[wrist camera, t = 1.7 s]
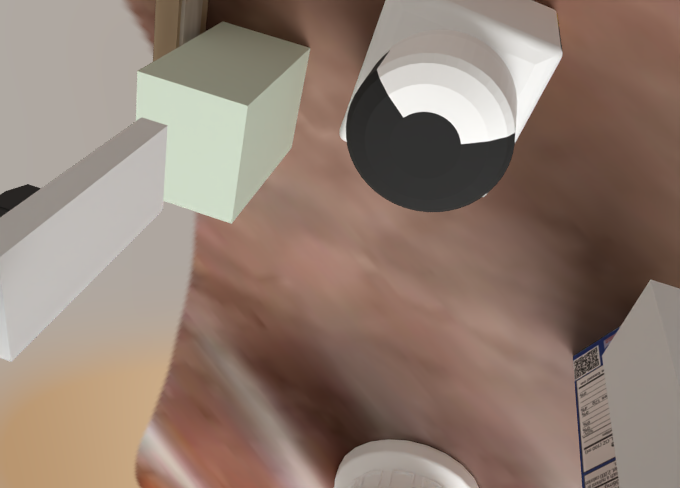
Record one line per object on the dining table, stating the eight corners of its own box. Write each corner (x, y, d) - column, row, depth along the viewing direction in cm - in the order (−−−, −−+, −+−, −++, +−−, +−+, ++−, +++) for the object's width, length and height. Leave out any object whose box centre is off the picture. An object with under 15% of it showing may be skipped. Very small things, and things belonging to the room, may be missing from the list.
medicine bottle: (492, 140, 34) (475, 263, 24) (369, 88, 34) (302, 189, 24) (560, 10, 30) (573, 93, 20) (419, -48, 30) (363, 7, 20)
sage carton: (310, 47, 34) (247, 106, 26) (291, 147, 37) (231, 223, 30) (221, 21, 34) (135, 70, 27) (211, 122, 38) (132, 190, 30)
